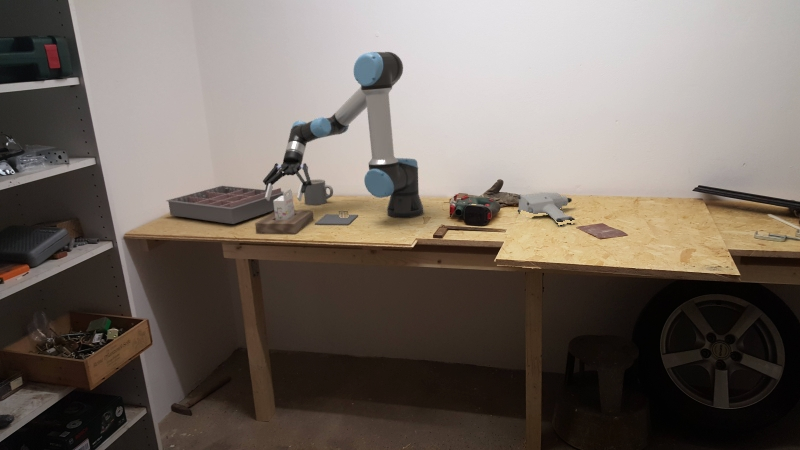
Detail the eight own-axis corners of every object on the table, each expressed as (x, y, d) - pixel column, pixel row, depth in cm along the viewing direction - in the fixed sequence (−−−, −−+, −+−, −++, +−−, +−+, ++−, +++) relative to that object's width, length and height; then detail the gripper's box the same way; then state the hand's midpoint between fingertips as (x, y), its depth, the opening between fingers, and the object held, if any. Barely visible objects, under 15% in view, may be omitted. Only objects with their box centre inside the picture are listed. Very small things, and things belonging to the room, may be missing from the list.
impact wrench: (604, 213, 220) (566, 186, 241) (552, 222, 213) (517, 193, 234) (600, 232, 224) (563, 204, 245) (549, 241, 217) (515, 211, 238)
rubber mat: (358, 216, 244) (358, 214, 244) (348, 225, 231) (348, 223, 230) (326, 215, 247) (326, 214, 247) (314, 224, 234) (314, 223, 233)
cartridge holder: (313, 220, 241) (312, 210, 240) (295, 234, 222) (294, 223, 221) (277, 219, 244) (276, 210, 243) (256, 233, 225) (255, 223, 224)
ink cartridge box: (284, 223, 238) (280, 188, 234) (295, 223, 237) (292, 188, 233) (275, 229, 230) (271, 192, 226) (287, 229, 229) (284, 192, 225)
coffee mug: (301, 204, 268) (298, 183, 265) (312, 199, 277) (310, 179, 274) (326, 206, 263) (325, 184, 260) (337, 201, 272) (335, 179, 269)
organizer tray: (224, 201, 282) (221, 181, 279) (287, 209, 262) (285, 187, 259) (168, 218, 256) (164, 196, 253) (233, 228, 235) (230, 204, 233)
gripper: (325, 160, 243) (315, 204, 233) (269, 160, 249) (257, 203, 239) (319, 149, 237) (309, 194, 227) (262, 150, 242) (250, 193, 233)
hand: (282, 199), depth 233 cm, fingers open, 13 cm apart
